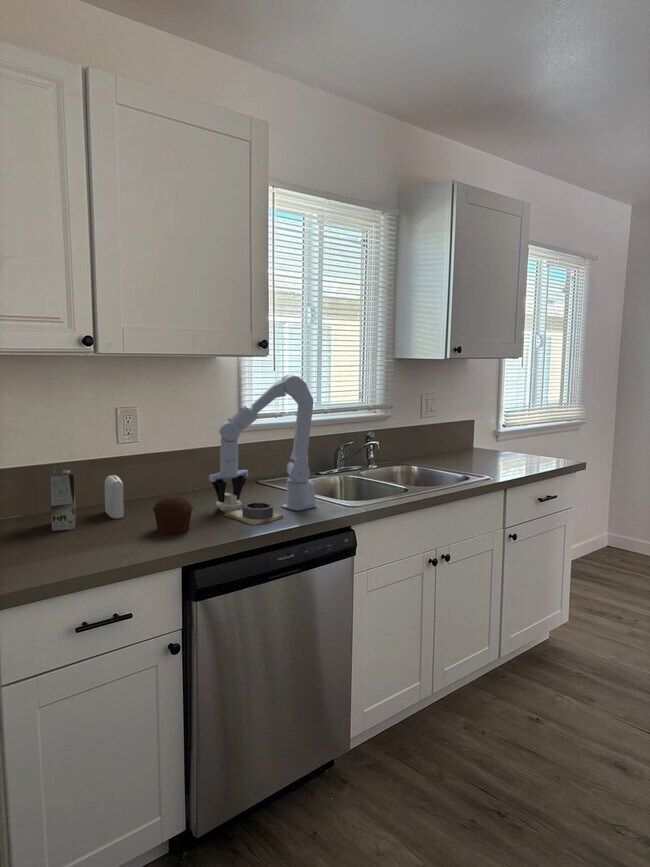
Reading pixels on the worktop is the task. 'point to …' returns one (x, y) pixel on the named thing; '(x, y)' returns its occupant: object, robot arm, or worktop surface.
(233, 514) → the mount board
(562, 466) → the worktop surface
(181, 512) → the muffin
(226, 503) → the white flanged knob
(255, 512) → the grey faceted ring
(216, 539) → the worktop surface
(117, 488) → the grey rounded upright block
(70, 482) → the coffee box
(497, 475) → the worktop surface
